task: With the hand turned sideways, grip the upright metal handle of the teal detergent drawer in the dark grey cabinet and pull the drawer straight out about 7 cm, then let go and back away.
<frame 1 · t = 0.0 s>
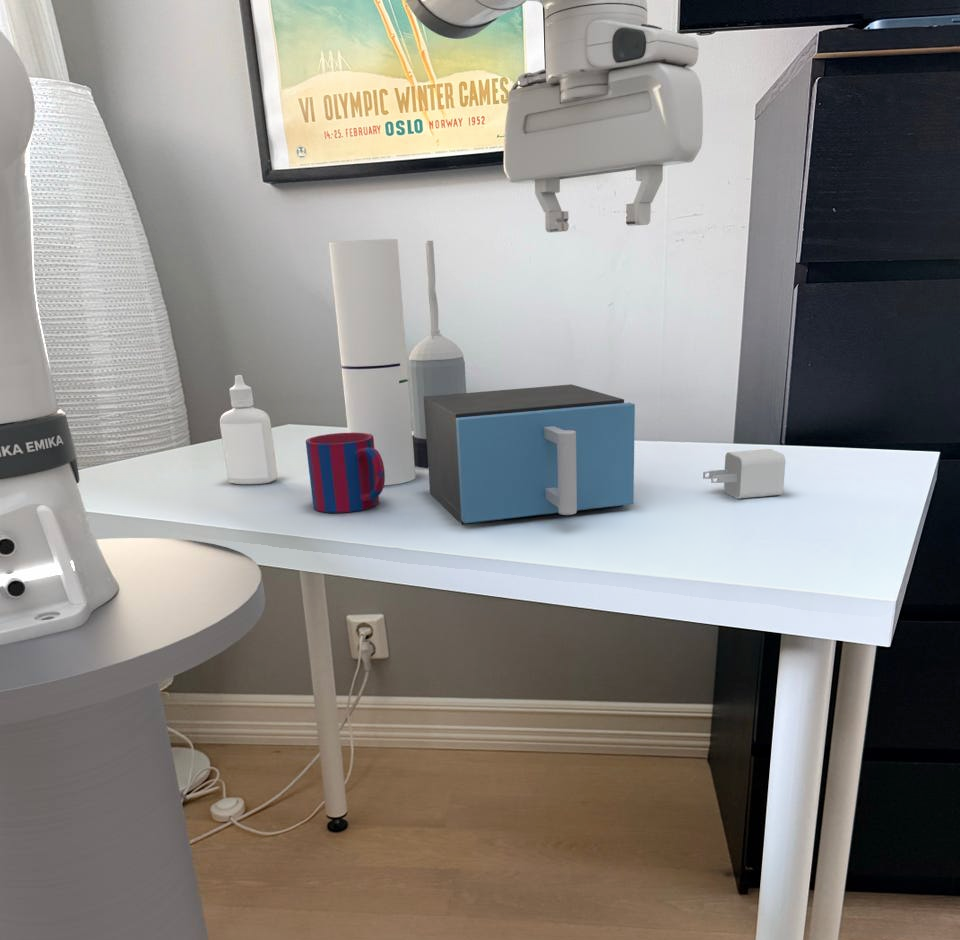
hand: (596, 228, 86), 25 cm above the table, tool pointing down, fingers open, 8 cm apart
dark grey cabinet: (522, 499, 93), on the table
cylindrical container: (384, 480, 106), on the table
humidifier: (443, 462, 114), on the table
eye dropper bottle: (253, 483, 108), on the table
drawer: (535, 455, 87), point 5 cm above the table, slide at 0.5 cm
mug: (354, 509, 93), on the table
usb wall charger: (740, 496, 91), on the table
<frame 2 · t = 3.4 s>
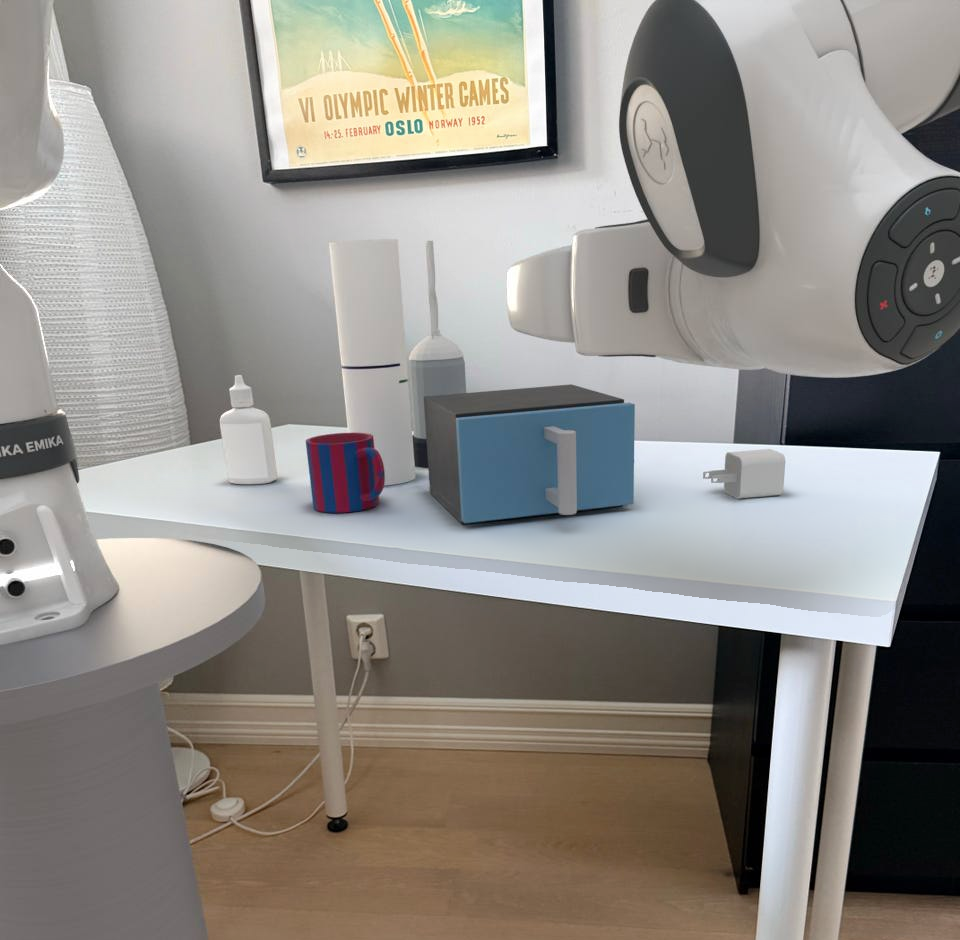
hand: (621, 289, 64), 20 cm above the table, tool horizontal, fingers open, 8 cm apart
nothing on the table moved.
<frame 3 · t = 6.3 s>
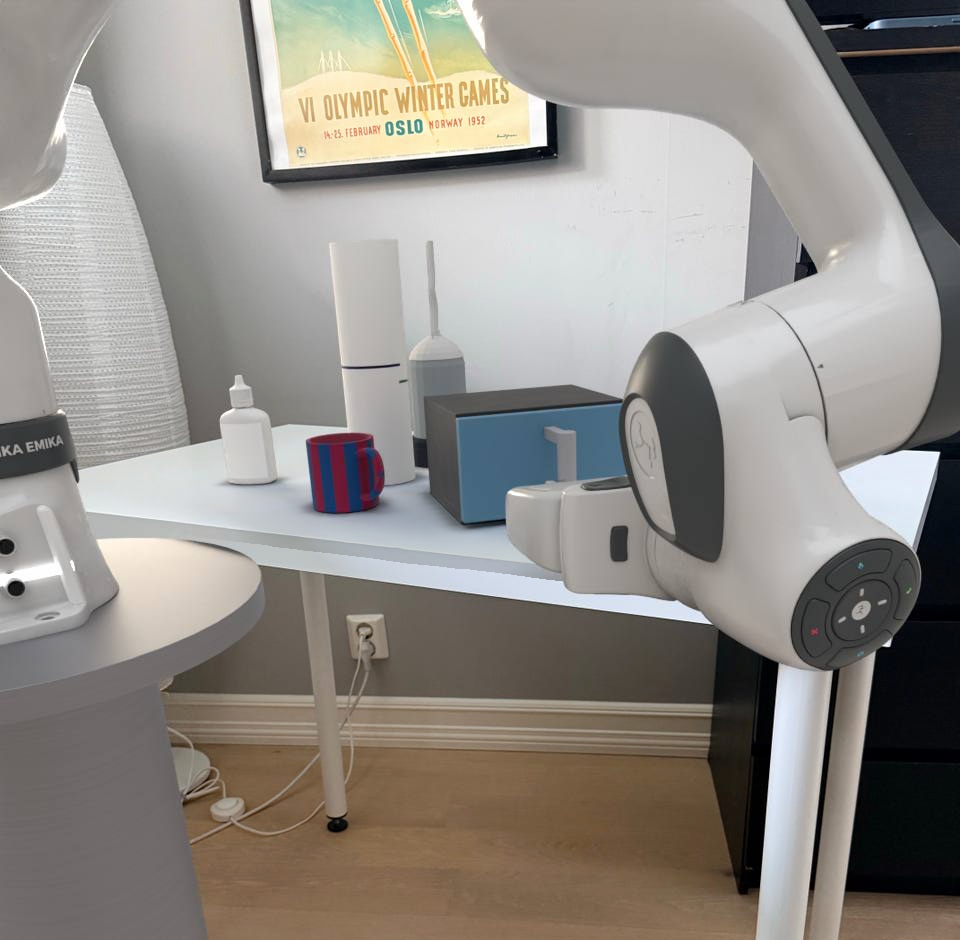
hand: (613, 484, 69), 6 cm above the table, tool horizontal, fingers open, 8 cm apart
nothing on the table moved.
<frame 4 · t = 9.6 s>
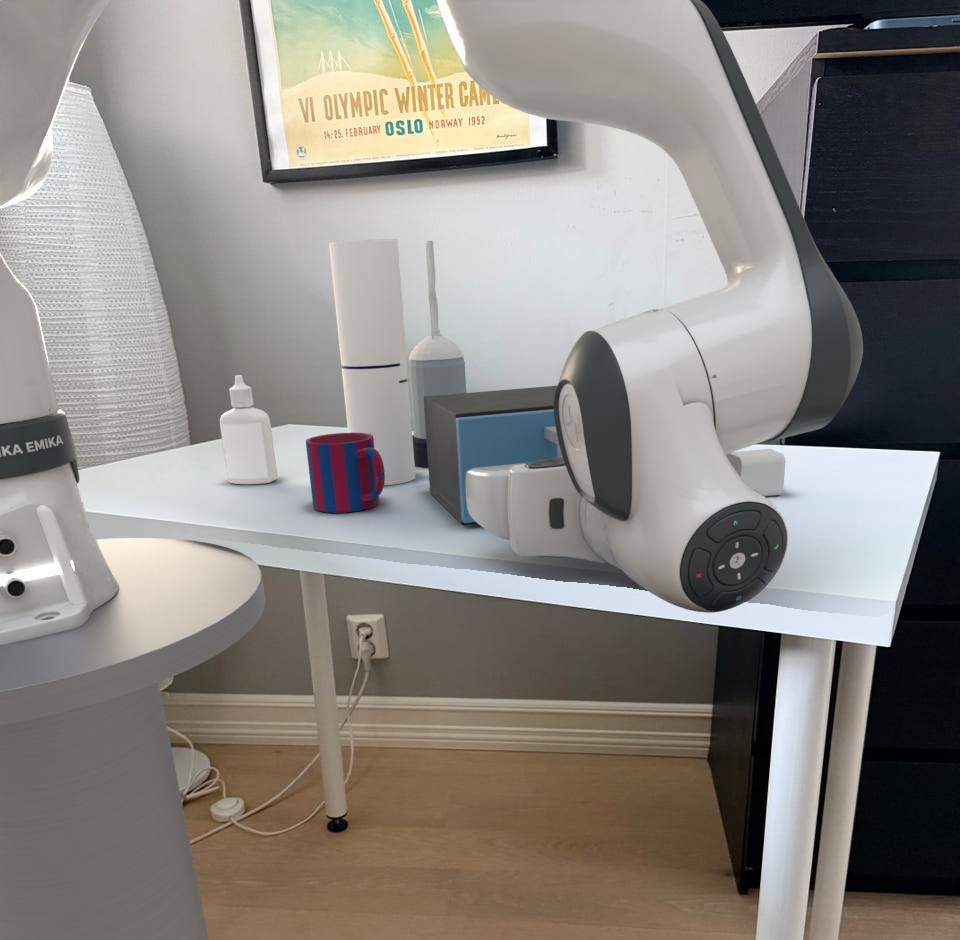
hand: (563, 467, 80), 6 cm above the table, tool horizontal, fingers closed on drawer, 2 cm apart
drawer: (535, 455, 87), point 5 cm above the table, slide at 0.5 cm, touching gripper
everything else where it was.
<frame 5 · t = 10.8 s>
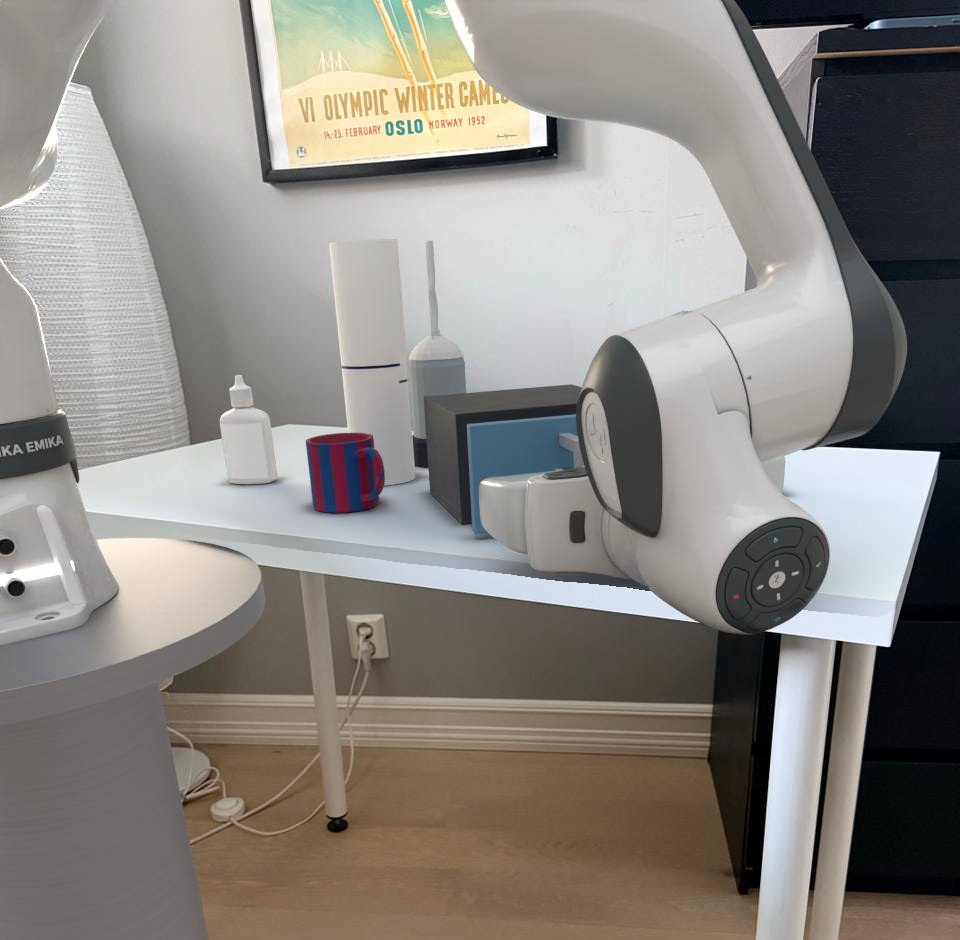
hand: (579, 476, 76), 6 cm above the table, tool horizontal, fingers closed on drawer, 2 cm apart
drawer: (549, 463, 84), point 5 cm above the table, slide at 4.5 cm, touching gripper
everything else where it was.
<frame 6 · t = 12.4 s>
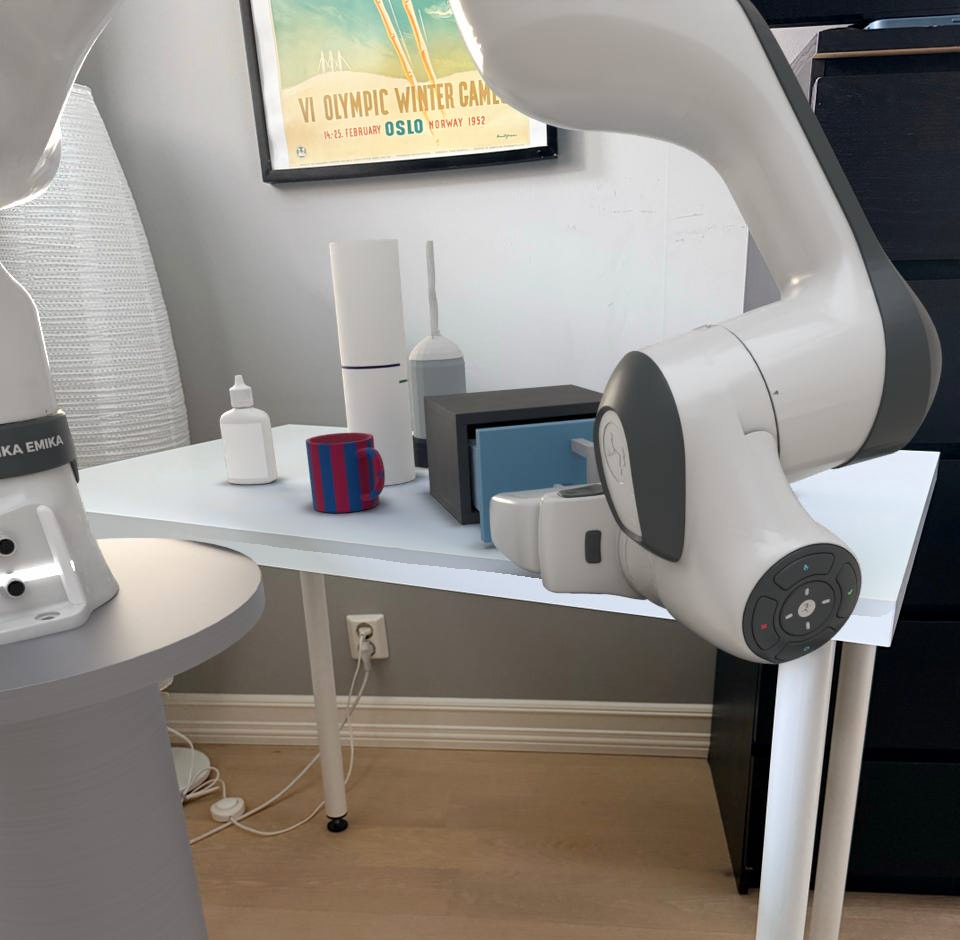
hand: (592, 490, 74), 5 cm above the table, tool horizontal, fingers open, 4 cm apart
drawer: (560, 469, 81), point 5 cm above the table, slide at 7.4 cm
everything else where it was.
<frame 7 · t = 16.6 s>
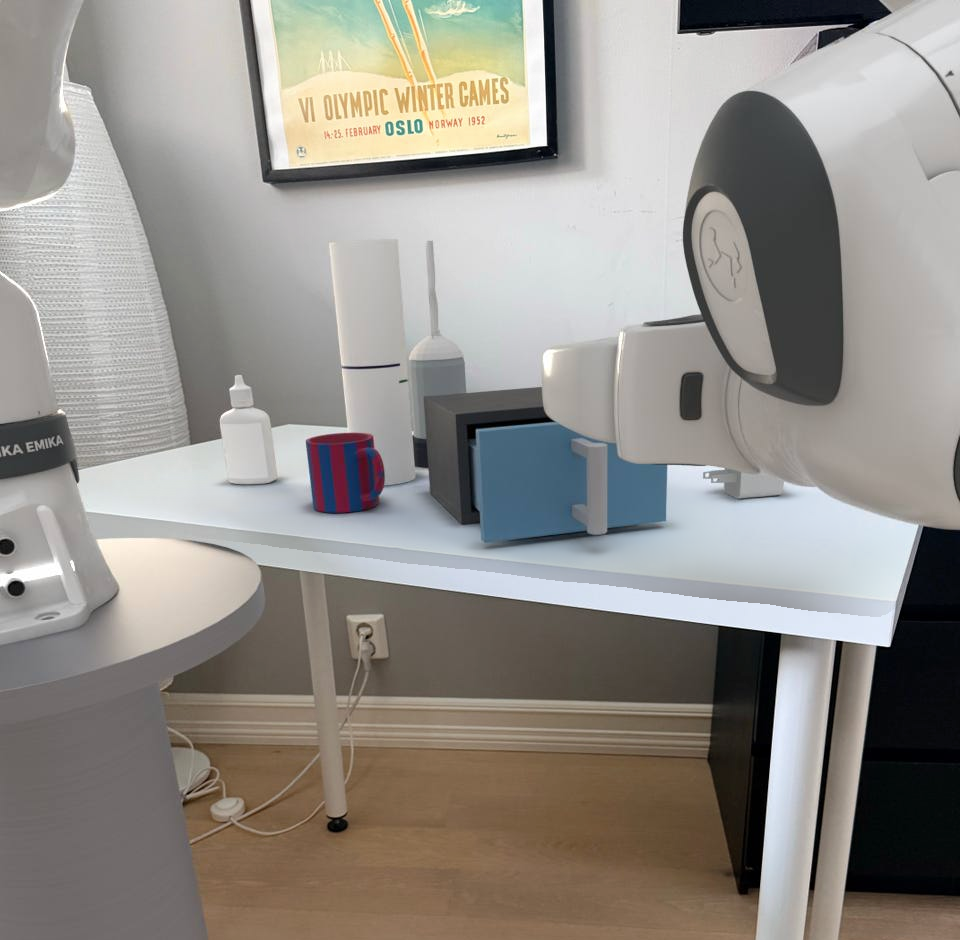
hand: (666, 362, 58), 16 cm above the table, tool horizontal, fingers open, 8 cm apart
nothing on the table moved.
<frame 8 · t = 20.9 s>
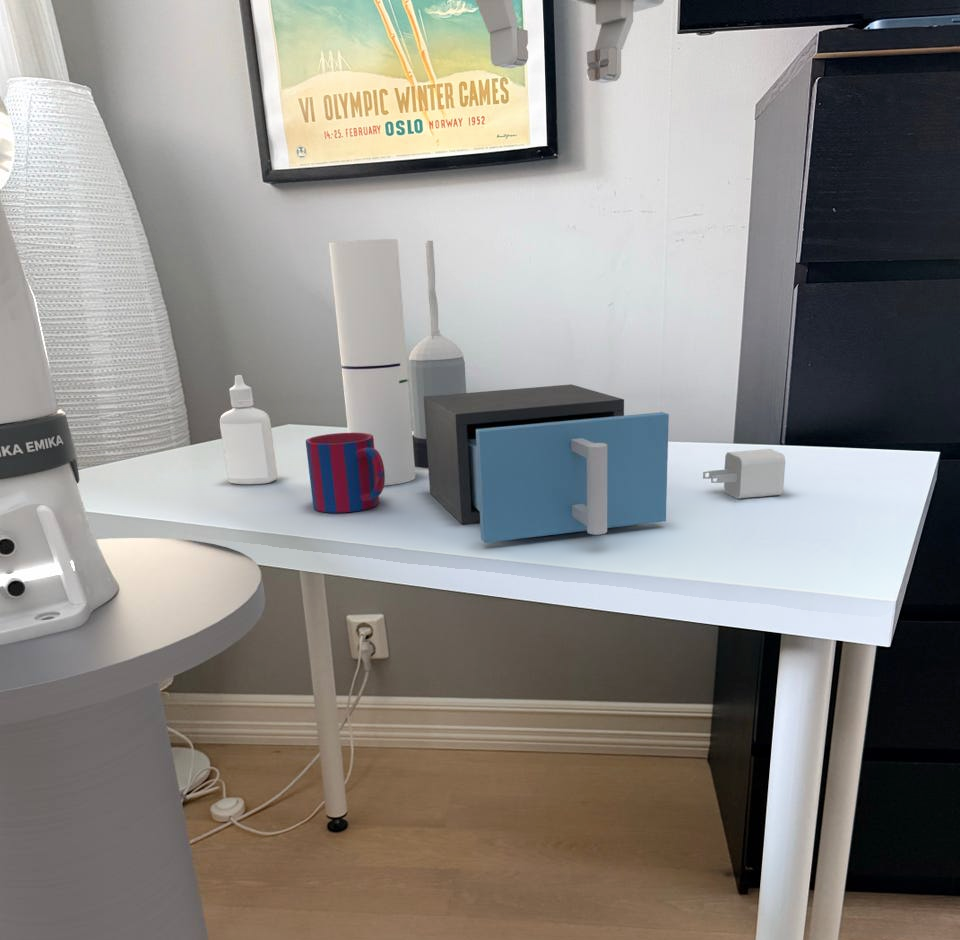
hand: (559, 74, 59), 33 cm above the table, tool pointing down, fingers open, 8 cm apart
nothing on the table moved.
at the end: drawer slide at 7.4 cm; the gripper is holding nothing; humidifier moved 0.2 cm from its start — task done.
